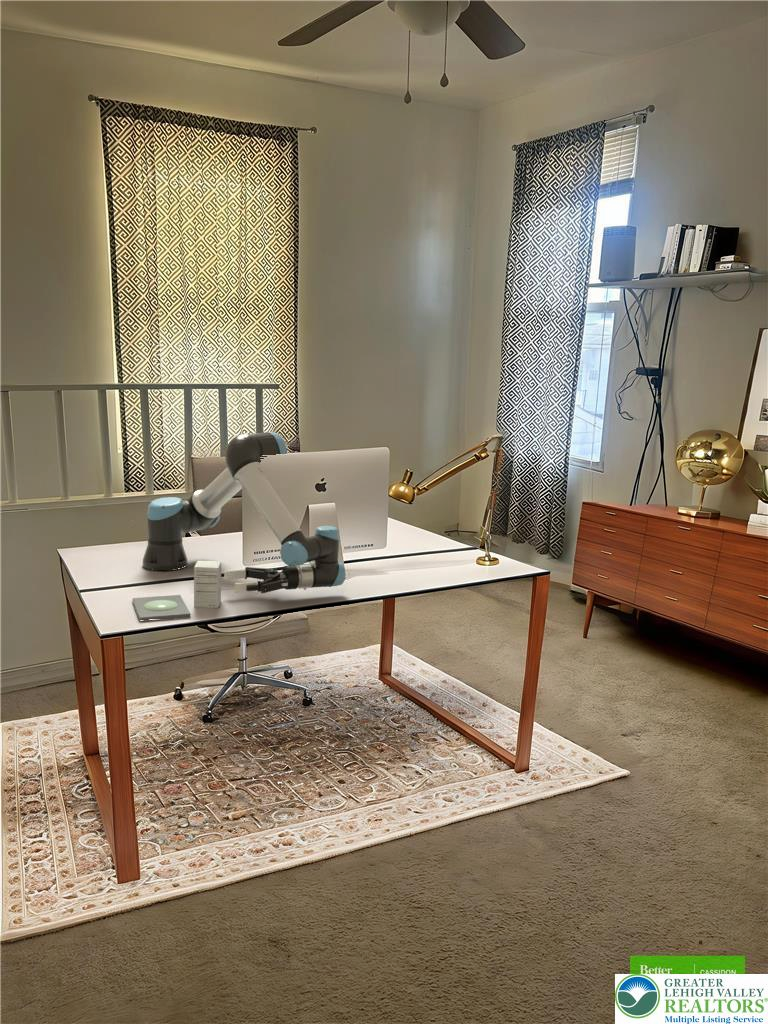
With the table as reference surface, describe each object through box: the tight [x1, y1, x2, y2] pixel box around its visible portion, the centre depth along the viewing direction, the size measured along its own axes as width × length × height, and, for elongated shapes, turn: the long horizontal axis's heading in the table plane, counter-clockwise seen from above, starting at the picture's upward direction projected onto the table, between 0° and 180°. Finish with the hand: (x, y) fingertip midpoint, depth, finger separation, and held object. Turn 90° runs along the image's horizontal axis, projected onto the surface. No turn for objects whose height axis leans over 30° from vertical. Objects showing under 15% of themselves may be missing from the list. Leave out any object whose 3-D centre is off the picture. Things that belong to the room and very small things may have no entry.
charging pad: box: [132, 594, 191, 621], centre depth 233 cm, size 18×14×1 cm
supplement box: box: [193, 560, 222, 609], centre depth 239 cm, size 7×7×13 cm
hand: (229, 581), depth 241 cm, fingers open, 13 cm apart
